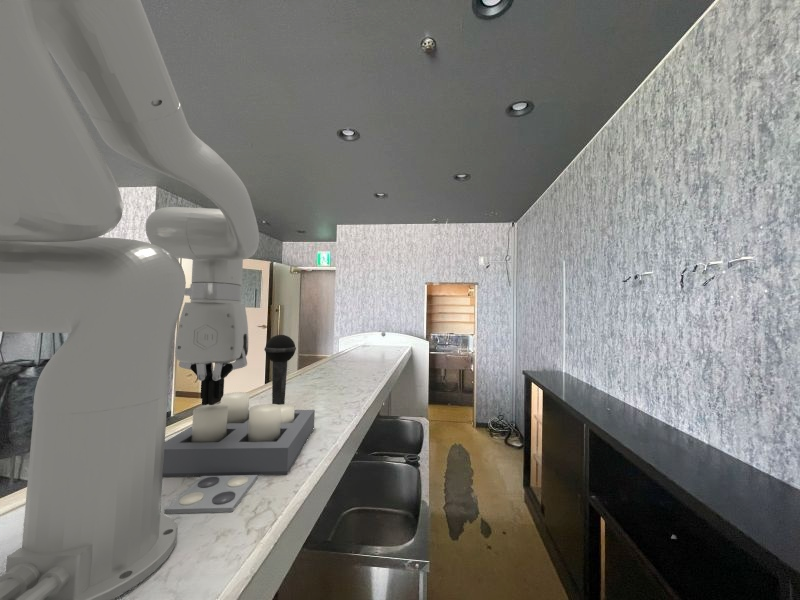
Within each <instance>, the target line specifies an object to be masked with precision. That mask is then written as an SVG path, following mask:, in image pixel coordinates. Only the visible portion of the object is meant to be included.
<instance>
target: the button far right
mask: <svg viewBox="0 0 800 600" xmlns="http://www.w3.org/2000/svg"><path fill="white" fill-rule="evenodd" d="M280 406H281V423H293V421H294V410H296V409H295V405H293V404H289V403H288V404H287V403H286V404H281V405H280Z"/></svg>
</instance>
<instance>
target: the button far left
mask: <svg viewBox="0 0 800 600" xmlns="http://www.w3.org/2000/svg"><path fill="white" fill-rule="evenodd" d="M220 404H225V405H227V406H228V413H227V423H244V422H246V421H247V420H248V415H249V409H250V393H249V392H244V391H238V392H237V391H236V392H235V391H234V392H229V393H225V394H223V397H222V398H221V401H220Z"/></svg>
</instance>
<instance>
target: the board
mask: <svg viewBox="0 0 800 600" xmlns="http://www.w3.org/2000/svg"><path fill="white" fill-rule="evenodd" d="M248 428H249V415H248V420H247V421H246V422H244V423H227V434H226V437H225V438H224V439H222V440H221V441H218V442H194V443H192V442H191V441H192V425H191V426H190V427H188V428H186V429H184V430H182V431H181V432H179V433H178V434H175V436H172V437H171V438H169V439H167V440H165V447H164V463H163V478H173V477H174V478H176V477H177V478H179V477H180V478H181V477H184V478H185V477H201V476H232V475H258V476H278V475H280V476H284V475H285V476H286V475H288V474H289V473H290V471H291V469H292V467H293V465H294V463H295V462H296V460H297V459H298V457H299V456H300V453H301V452H302V450H303V448H304V447H305V445H306V443H307V442H308V440H309V438H310V437H311V435H312V433H313V431H314V430H313V428H314V429H315V409H295V410H294V421H293V423H281V424H280V437H279V438H278V439H277V440H275V441H272V442H249V441H248ZM312 430H313V431H312ZM311 432H312V433H311ZM310 434H311V435H310ZM307 439H308V440H307ZM304 444H305V445H304ZM303 446H304V447H303Z"/></svg>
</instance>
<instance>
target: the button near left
mask: <svg viewBox="0 0 800 600" xmlns="http://www.w3.org/2000/svg"><path fill="white" fill-rule="evenodd" d="M227 413H228V406H227V405H225V404H221V403H216V404H214V405H209V404H207V405H200V406H197V407H195V408H194V409H193V411H192V424H191V426H192V441H191V442H192V443H194V442H218V441H221V440H222V439H224V438H225V437H226V434H227Z"/></svg>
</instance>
